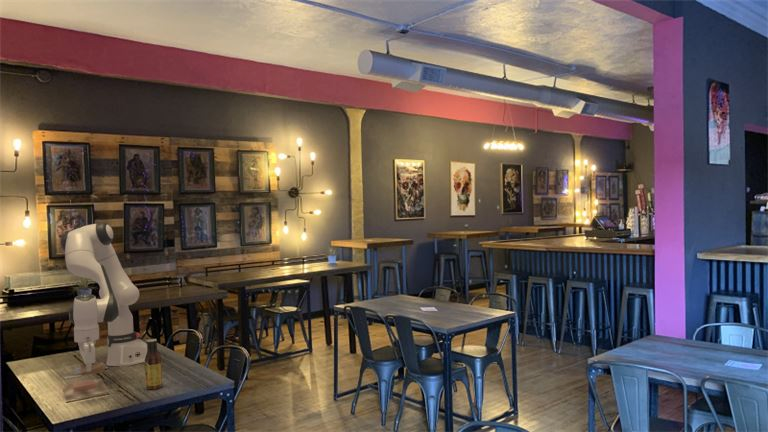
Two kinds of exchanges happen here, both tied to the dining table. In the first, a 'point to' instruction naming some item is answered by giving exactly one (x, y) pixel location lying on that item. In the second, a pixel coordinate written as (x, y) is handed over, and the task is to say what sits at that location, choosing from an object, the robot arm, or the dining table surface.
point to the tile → (83, 385)
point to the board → (84, 391)
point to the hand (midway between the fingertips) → (88, 370)
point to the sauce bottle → (153, 366)
